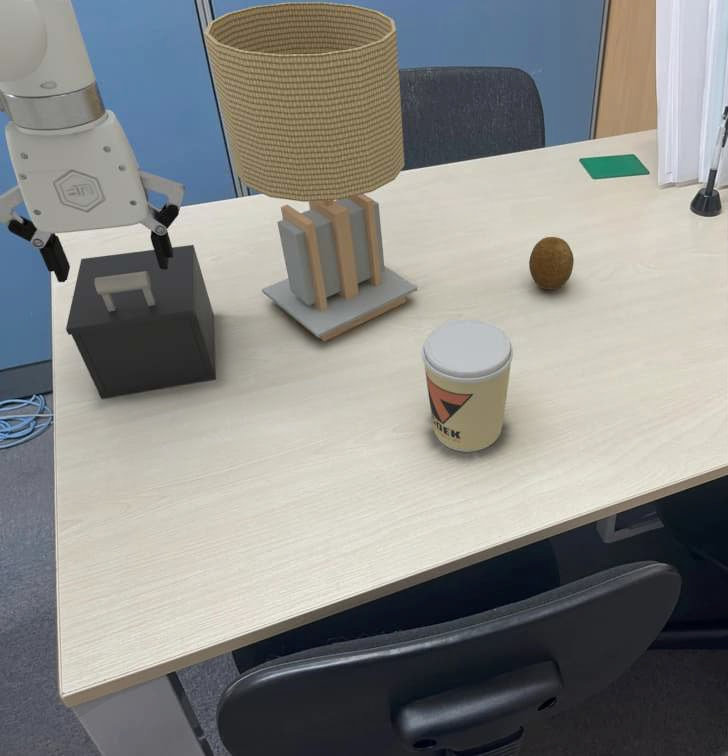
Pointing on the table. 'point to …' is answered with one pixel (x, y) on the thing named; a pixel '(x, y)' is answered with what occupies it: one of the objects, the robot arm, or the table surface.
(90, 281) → the lid
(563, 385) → the table surface
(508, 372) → the coffee cup
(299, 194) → the desk lamp
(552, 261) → the fruit
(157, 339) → the dark grey hollow box
